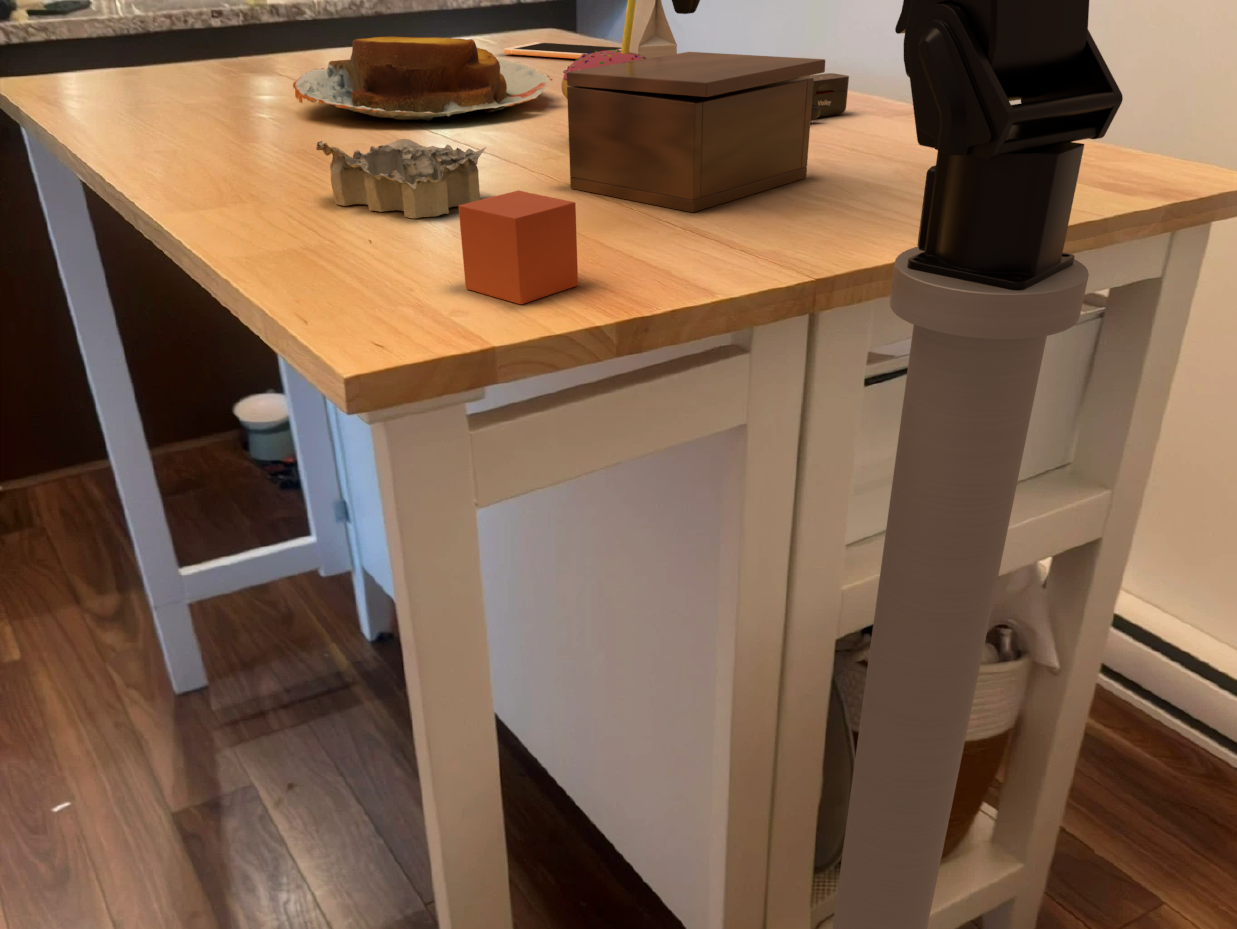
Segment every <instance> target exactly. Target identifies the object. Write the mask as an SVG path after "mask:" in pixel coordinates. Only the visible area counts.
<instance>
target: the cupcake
mask: <svg viewBox="0 0 1237 929" xmlns="http://www.w3.org/2000/svg"><path fill="white" fill-rule="evenodd" d="M636 2H637V0H627V3H626V12H625V19H624V28H623V34H622V37H623V41H622V40H621V47H622V49H621V50H619V49H616V50H613V49H610V50H608V51H604V50H603V51H600V52H597V51H595V53H592V52H589V53H588V54H582V56H580V57H579V58H578V59H575V60H574V61H573V62H572V63H571V64H570V65H568V66H567V68H566V69H565V70H563V71H562V73H563V77H562V79H561V86H560V87H561V93H562V94H563V96H564V97H565V99H567V87H568V85H567V72H572V71H578V70H584V69H590V68H596V67H602V66H607V65H613V64H619V63H625V62H631V61H637V60H643V59H647V58H645V57H644V56H643V55H640V54H637V53H631V52H629V49H630V41H631V34H632V26H633V19H634V11H635V5H636ZM642 56H643V57H642Z"/></svg>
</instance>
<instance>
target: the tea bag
mask: <svg viewBox="0 0 1237 929" xmlns="http://www.w3.org/2000/svg"><path fill="white" fill-rule="evenodd" d="M622 41H623V36H622V37H621V42H622ZM629 52H631V53H637V54H640V55H643V56H644V57H645V58H647V59H649V58H655V57H661V56H667V55H673V54H678V44H677V42H676V39H675V37H674V34H673V32H672V30H671V27H670V24H669V21H668V19H667V17H666V13H665V9H664V6H663V3H662V0H636V4H635V11H634V19H633V26H632V34H631V41H630V49H629ZM643 56H642V57H643Z"/></svg>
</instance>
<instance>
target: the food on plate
mask: <svg viewBox="0 0 1237 929" xmlns="http://www.w3.org/2000/svg"><path fill="white" fill-rule="evenodd" d="M351 50H352V51H351V55H350V59H339V60H338V59H337V60H331V61H328V64H327V67H326V68H324V67H321V68H313V69H311V70H310V71H309V70H308V71H305V73H302V74H301V76H300V77H299V78H298V79H297V80H295V81H293V83H292V87H293V88H292V90H293V89H294V94H295V95H294V97H295V98H296V99H297V100H298V103H301V104H303V100H305V99H306V100H307V101H309V102H310V103H313V104H315V103H316V102H317V101H318V104H319V105H321V104H322V103H323V104H325V105H333V106H335V107H336V109H344V110H348V111H351V112H356V113H360V114H363V115H369V116H370V117H371V116H372V117H376V118H385V119H386V118H387V119H393V120H401V121H405V120H409V121H410V120H413V121H417V120H423V121H427V122H429V121H431V120H432V119H435V118H439V117H440V118H441V117H445V116H447V117H450V116H452V115H459V114H464V113H468V112H469V113H470V112H473V111H477V110H485V111H484V112H485V113H493V112H498V111H500V110H504V109H506V108H508V107H513V106H515V105H520V104H522V103H525V102H529V101H533V100H538V96H539V95H541V94H542V92H545V91H546V90H547V89H546V88H547V87H548V85H549V81H550V82H553V78H551V77H550V75H548V74H546V73H542V72H540V71H538V70H537V69H536V68H534V67H531V66H528V65H526V64H525V63H522V62H519V61H510V60H507V59H502V58H497V57H496V56H495V55H494V54H493V53H492V52H490V51H488V50H487V49H484V48H480V47H477V44H476V41H475V40H474V39H472V38H468V39H465V38H456V37H455V38H453V37H435V36H431V37H413V36H412V37H409V36H374V37H367V38H356V39H353V40H352V48H351ZM553 103H555V101H554V100H553Z"/></svg>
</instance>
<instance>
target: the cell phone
mask: <svg viewBox="0 0 1237 929" xmlns="http://www.w3.org/2000/svg"><path fill="white" fill-rule="evenodd" d="M610 49H613V50H616V49H619V50H621V49H622V46H620V47H619V46H606V45H593V44H575V43H557V42H542V41H536V42H535V41H534V42H531V43H525V44H524V43H523V44H519V45H515V46H509V47H505V48H503V54H504V55H516V56H531V57H532V56H533V57H548V58H560V59H561V58H562V59H575V60H576V59H578V58H579V57H580V56H582V54H588V53H589V52H592V53H595V51H597V52H600V51H603V50H604V51H608V50H610Z"/></svg>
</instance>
